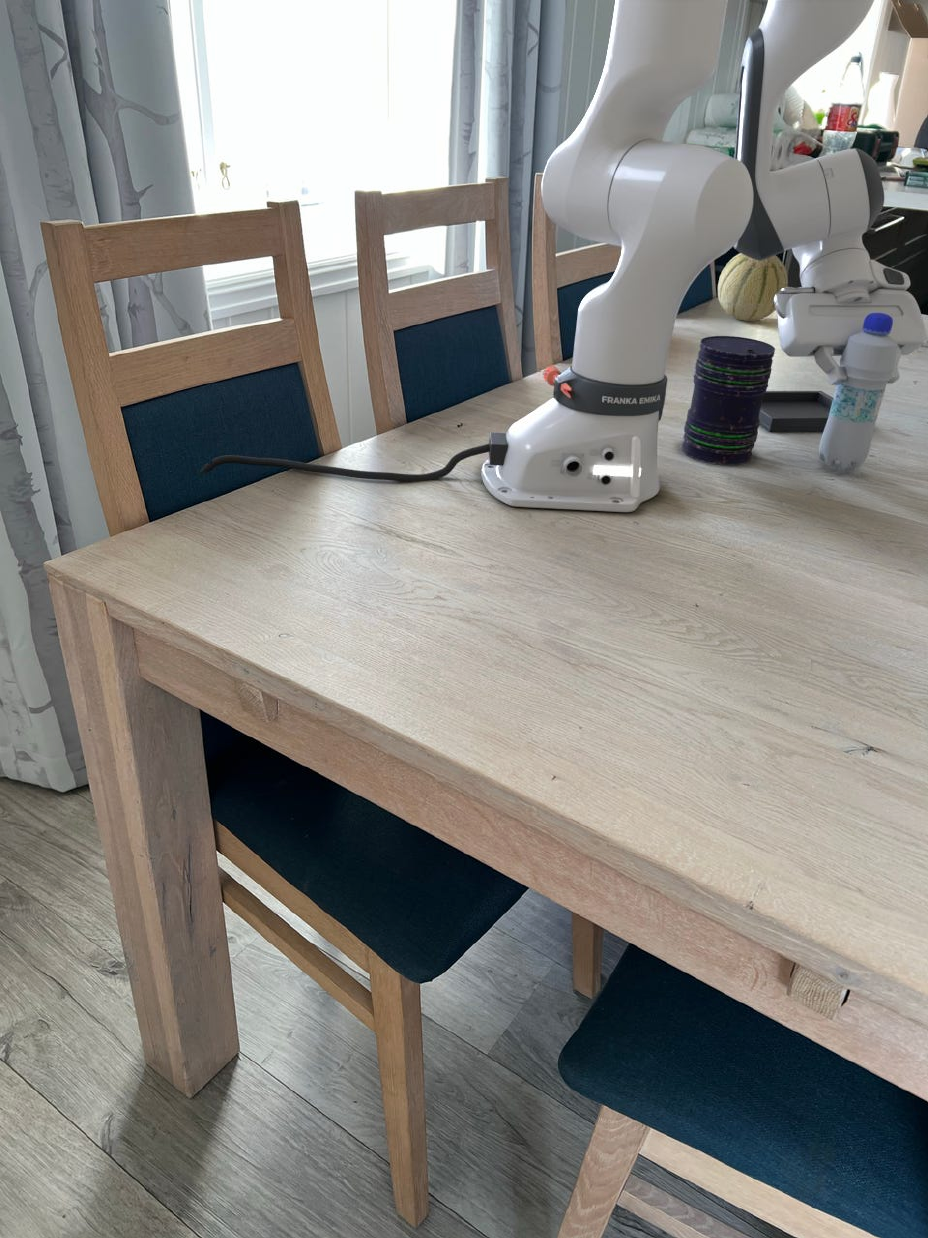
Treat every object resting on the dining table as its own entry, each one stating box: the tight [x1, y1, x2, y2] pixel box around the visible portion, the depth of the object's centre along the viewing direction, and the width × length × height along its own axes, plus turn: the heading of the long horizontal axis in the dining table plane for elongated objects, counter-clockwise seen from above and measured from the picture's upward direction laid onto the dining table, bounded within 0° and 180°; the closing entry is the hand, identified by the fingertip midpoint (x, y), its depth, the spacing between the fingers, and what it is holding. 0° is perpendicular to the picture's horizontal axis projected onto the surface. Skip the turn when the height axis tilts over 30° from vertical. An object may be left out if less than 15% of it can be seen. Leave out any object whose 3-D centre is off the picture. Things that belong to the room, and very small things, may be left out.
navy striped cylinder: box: [681, 335, 776, 466], centre depth 128 cm, size 10×10×15 cm
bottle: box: [818, 313, 898, 470], centre depth 123 cm, size 7×7×20 cm
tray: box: [759, 390, 834, 433], centre depth 147 cm, size 16×14×2 cm
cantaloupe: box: [717, 252, 789, 322], centre depth 204 cm, size 15×15×15 cm
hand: (865, 382), depth 122 cm, fingers closed on bottle, 6 cm apart
